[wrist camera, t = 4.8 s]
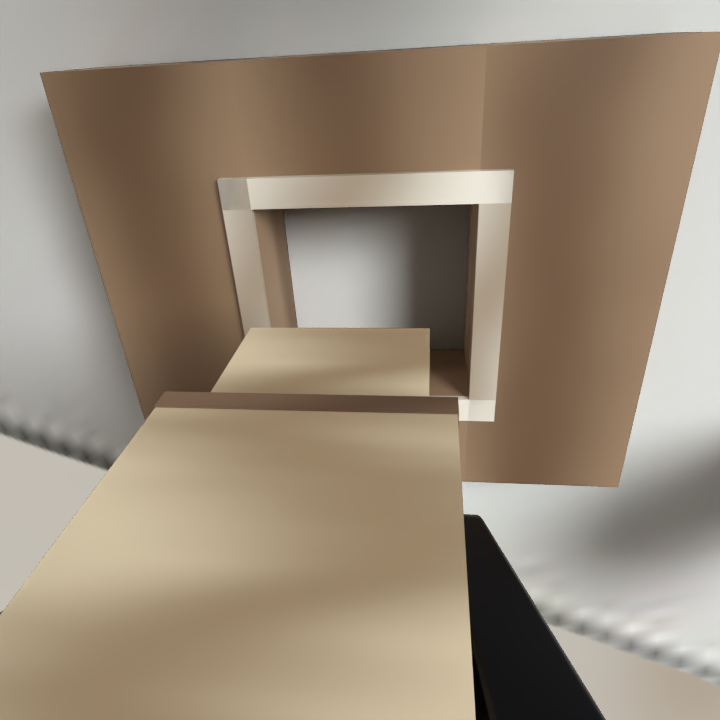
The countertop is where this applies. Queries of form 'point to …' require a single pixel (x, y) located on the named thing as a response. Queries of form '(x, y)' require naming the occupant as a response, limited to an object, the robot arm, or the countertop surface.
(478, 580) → the robot arm
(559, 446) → the board
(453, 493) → the peg
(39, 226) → the countertop surface
